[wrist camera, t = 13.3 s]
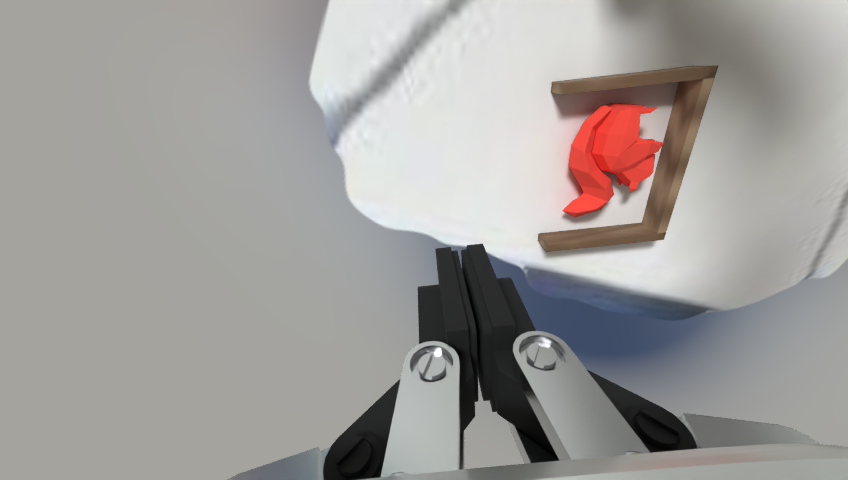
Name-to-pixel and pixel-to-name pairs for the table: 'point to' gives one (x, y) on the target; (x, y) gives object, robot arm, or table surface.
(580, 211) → the animal figurine
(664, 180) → the frame
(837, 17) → the table surface
